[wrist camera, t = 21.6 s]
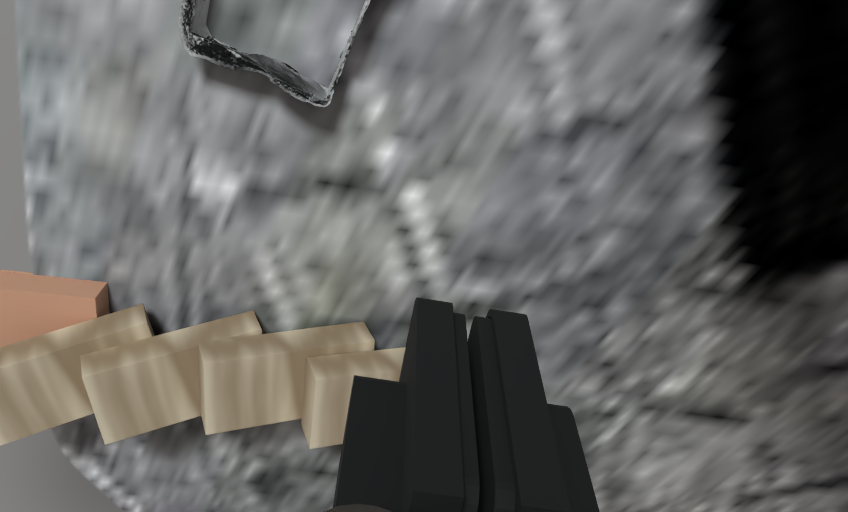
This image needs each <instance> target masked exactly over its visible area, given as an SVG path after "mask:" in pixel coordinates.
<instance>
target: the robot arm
mask: <svg viewBox="0 0 848 512" xmlns="http://www.w3.org/2000/svg"><path fill="white" fill-rule="evenodd" d="M324 512H599V508H598V504H597V501H596V497H595V493H594V490H593V486H592V482H591V479H590V475H589V471H588V467H587V464H586V460H585V456H584V453H583V449H582V445H581V441H580V438H579V434H578V430H577V427H576V423H575V419H574V416H573V413H572V411H571V409H570V408H568V407H566V406H560V405H553V404H547V401H546V397H545V392H544V388H543V383H542V379H541V374H540V370H539V366H538V361H537V357H536V352H535V348H534V343H533V339H532V335H531V330H530V326H529V321H528V318H527V315H525V314H519V313H513V312H506V311H500V310H494V309H490V310H489V311H488V314H487V316H486V318H484V317H477V316H475V317H474V319H473V322H472V326H471V330H470V334H469V338H468V342H467V330H466V318H465V315H464V314H458V313H453V304H452V303H449V302H443V301H436V300H430V299H423V298H416V300H415V304H414V308H413V313H412V318H411V323H410V328H409V333H408V338H407V343H406V348H405V353H404V358H403V363H402V368H401V373H400V378H399V382H397V381H390V380H384V379H377V378H370V377H363V376H357V375H354V378H353V384H352V389H351V395H350V401H349V407H348V413H347V419H346V425H345V432H344V438H343V444H342V451H341V457H340V463H339V470H338V477H337V483H336V490H335V497H334V504H333V508H332V509H329V510H327V511H324Z"/></svg>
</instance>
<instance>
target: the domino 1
mask: <svg viewBox="0 0 848 512" xmlns="http://www.w3.org/2000/svg"><path fill="white" fill-rule="evenodd" d="M107 314H110V308H109V295H108V283H107V282H99V281H89V280H79V279H70V278H60V277H50V276H40V275H32V273H31V272H20V271H11V270H1V269H0V347H3V346H7V345H10V344H13V343H16V342H20V341H23V340H26V339H29V338H33V337H36V336H39V335H42V334H46V333H49V332H52V331H55V330H59V329H62V328H65V327H68V326H72V325H75V324H78V323H81V322H85V321H88V320H91V319H94V318H98V317H101V316H104V315H107Z"/></svg>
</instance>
